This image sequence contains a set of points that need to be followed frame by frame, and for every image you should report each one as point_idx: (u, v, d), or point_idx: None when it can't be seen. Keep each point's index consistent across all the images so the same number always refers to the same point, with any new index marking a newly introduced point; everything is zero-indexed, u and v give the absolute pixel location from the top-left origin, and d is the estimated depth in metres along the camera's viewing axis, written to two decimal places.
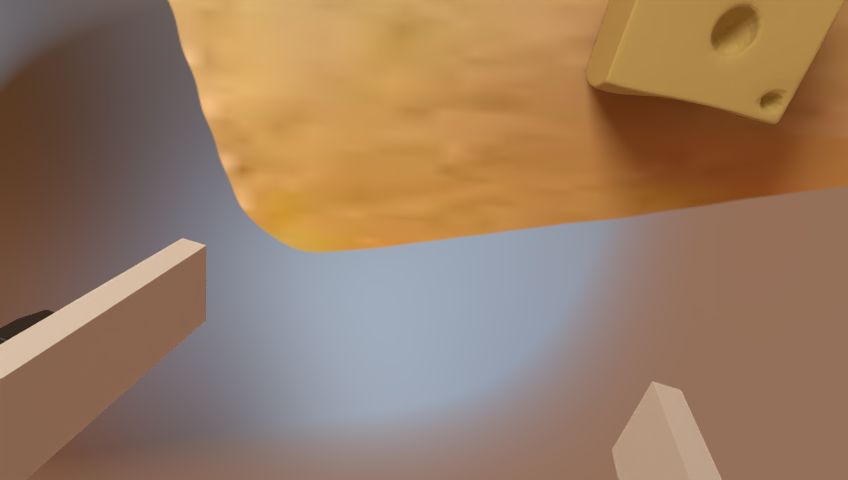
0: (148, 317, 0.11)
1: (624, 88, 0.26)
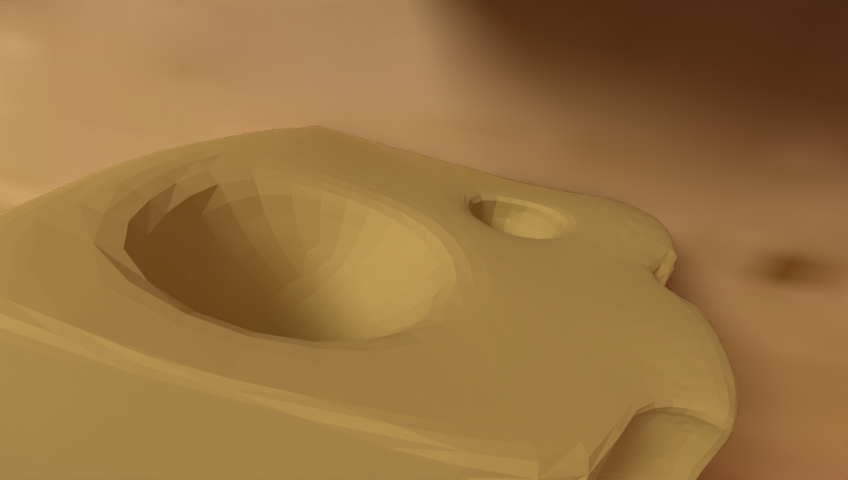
0: None
1: None
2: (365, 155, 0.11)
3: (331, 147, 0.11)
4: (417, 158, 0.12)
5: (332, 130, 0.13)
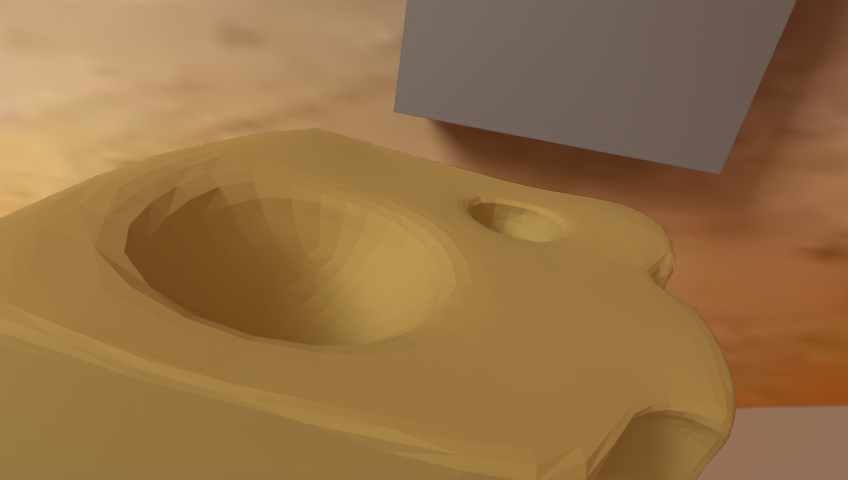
0: None
1: None
2: (365, 157, 0.11)
3: (330, 149, 0.11)
4: (417, 160, 0.13)
5: None
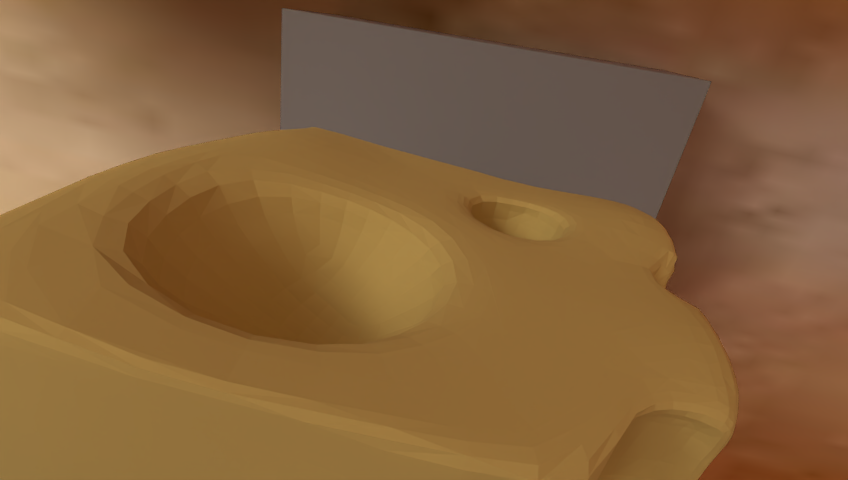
0: None
1: None
2: (365, 156, 0.11)
3: (331, 148, 0.11)
4: (417, 159, 0.12)
5: (332, 131, 0.13)
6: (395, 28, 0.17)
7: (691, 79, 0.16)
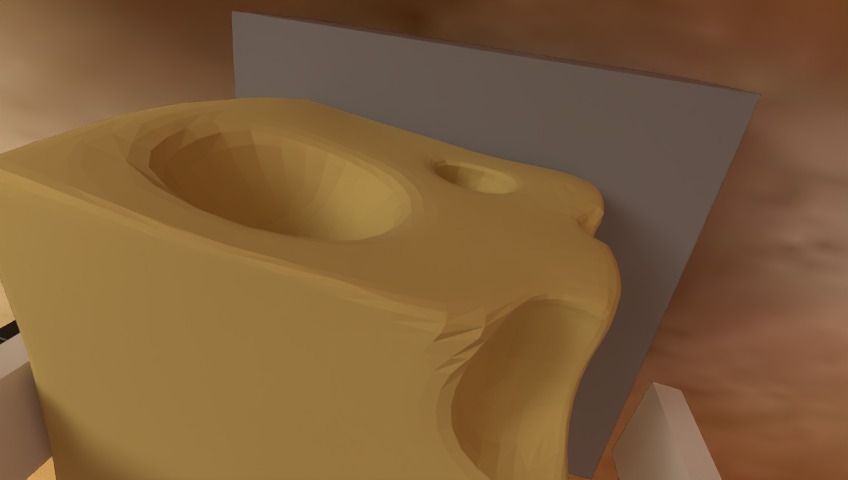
0: None
1: None
2: (347, 123, 0.13)
3: (318, 113, 0.13)
4: (394, 129, 0.14)
5: None
6: (368, 33, 0.14)
7: (735, 92, 0.13)
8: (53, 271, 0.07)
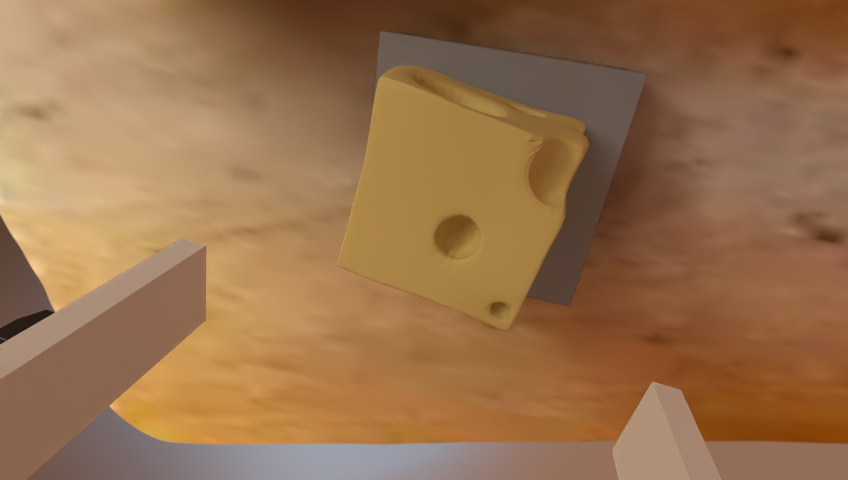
0: (148, 317, 0.11)
1: (356, 273, 0.24)
2: (461, 82, 0.26)
3: (448, 77, 0.26)
4: (480, 89, 0.27)
5: None
6: (452, 43, 0.27)
7: (635, 73, 0.26)
8: (399, 115, 0.20)
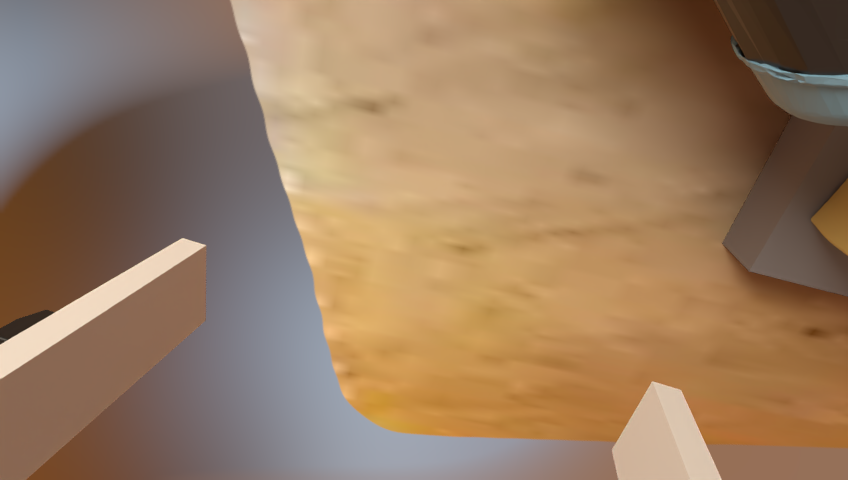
0: (148, 317, 0.11)
1: None
2: None
3: None
4: None
5: None
6: None
7: None
8: None
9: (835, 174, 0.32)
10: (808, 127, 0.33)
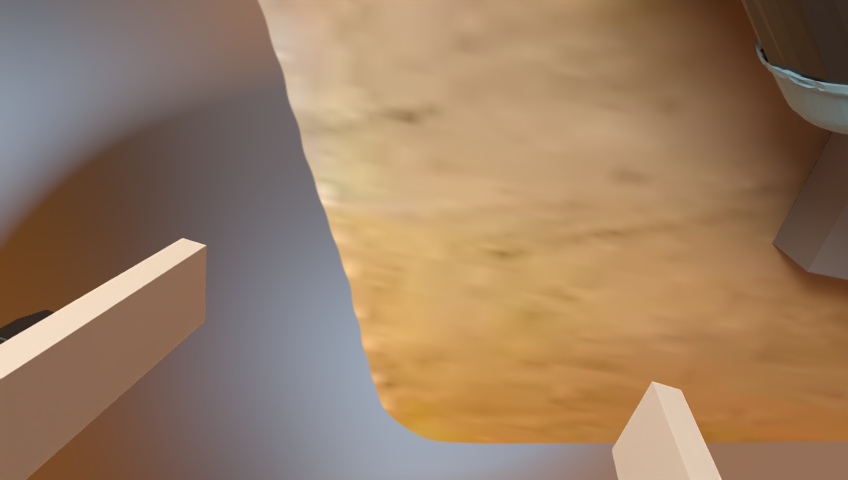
0: (148, 317, 0.11)
1: None
2: None
3: None
4: None
5: None
6: None
7: None
8: None
9: None
10: None
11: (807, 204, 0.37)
